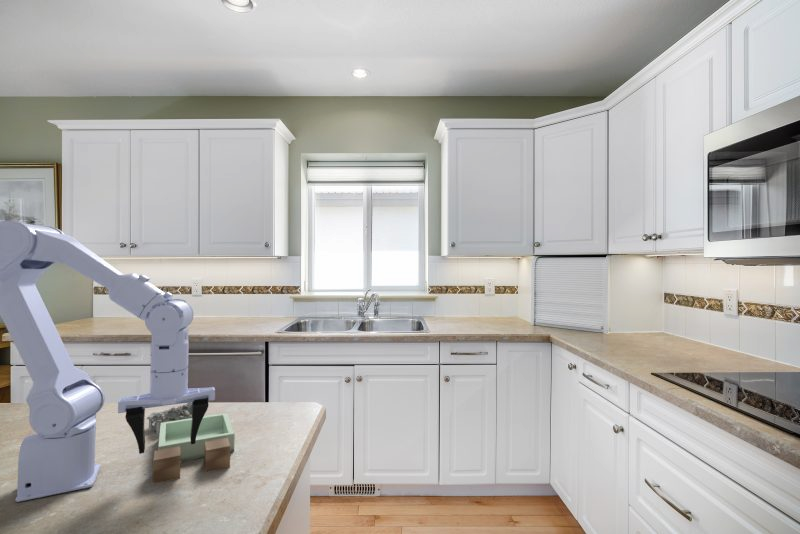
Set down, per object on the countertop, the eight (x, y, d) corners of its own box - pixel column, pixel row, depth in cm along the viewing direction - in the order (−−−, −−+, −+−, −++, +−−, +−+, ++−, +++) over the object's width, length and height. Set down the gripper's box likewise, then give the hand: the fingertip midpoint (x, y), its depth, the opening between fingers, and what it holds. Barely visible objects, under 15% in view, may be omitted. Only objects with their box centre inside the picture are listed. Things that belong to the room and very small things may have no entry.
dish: (157, 466, 72) (158, 446, 72) (160, 439, 83) (160, 422, 83) (234, 451, 78) (234, 433, 78) (226, 428, 90) (227, 412, 90)
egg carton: (159, 438, 85) (159, 419, 85) (143, 429, 89) (144, 411, 89) (207, 422, 93) (207, 405, 93) (191, 415, 98) (191, 399, 98)
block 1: (152, 484, 66) (153, 460, 66) (153, 473, 69) (154, 450, 70) (179, 478, 68) (180, 455, 68) (179, 468, 71) (180, 446, 72)
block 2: (205, 473, 70) (206, 450, 70) (204, 463, 73) (204, 441, 74) (229, 467, 72) (230, 445, 72) (227, 458, 75) (227, 437, 76)
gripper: (116, 379, 62) (114, 465, 62) (217, 369, 69) (215, 446, 69) (121, 369, 68) (119, 448, 68) (213, 361, 75) (212, 432, 75)
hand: (168, 446), depth 69 cm, fingers open, 7 cm apart
